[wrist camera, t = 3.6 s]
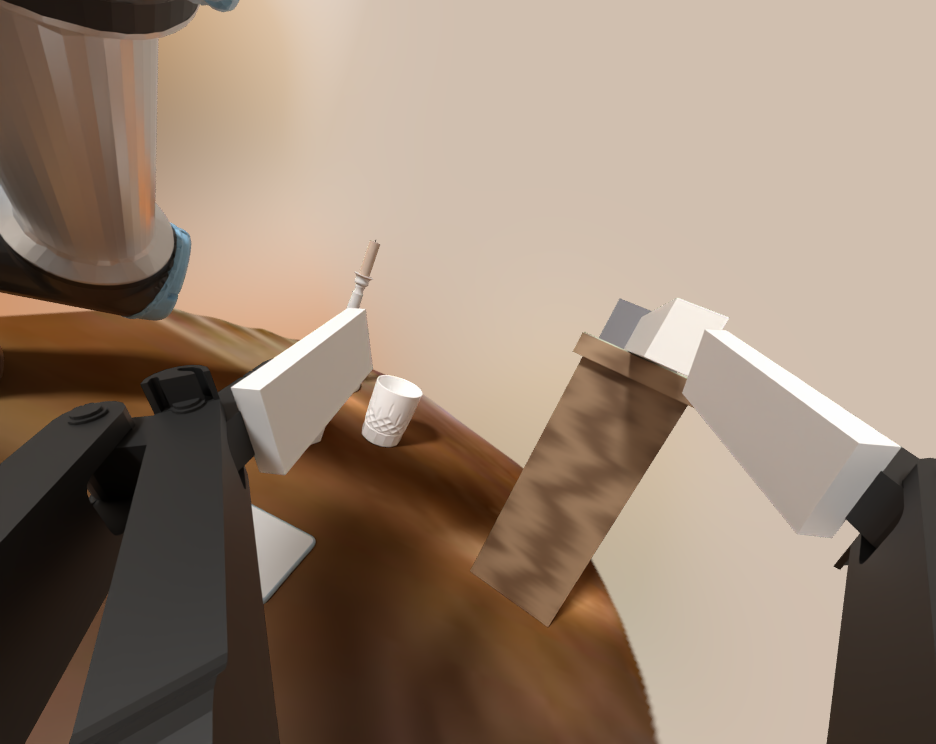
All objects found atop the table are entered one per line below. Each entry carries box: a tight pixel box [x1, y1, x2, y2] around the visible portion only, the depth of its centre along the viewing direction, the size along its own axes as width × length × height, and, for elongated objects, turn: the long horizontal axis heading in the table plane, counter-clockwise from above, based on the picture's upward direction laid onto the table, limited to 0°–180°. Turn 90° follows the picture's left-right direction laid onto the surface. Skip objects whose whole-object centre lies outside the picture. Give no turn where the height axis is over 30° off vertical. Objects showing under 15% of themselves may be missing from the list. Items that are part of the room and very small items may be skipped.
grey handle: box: [599, 298, 729, 376], centre depth 34 cm, size 9×27×5 cm, turn 157°
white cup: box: [362, 375, 423, 447], centre depth 59 cm, size 8×8×10 cm
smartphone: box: [251, 504, 316, 604], centre depth 32 cm, size 8×1×15 cm
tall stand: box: [470, 332, 694, 627], centre depth 41 cm, size 12×14×30 cm
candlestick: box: [346, 240, 380, 392], centre depth 70 cm, size 13×13×30 cm
